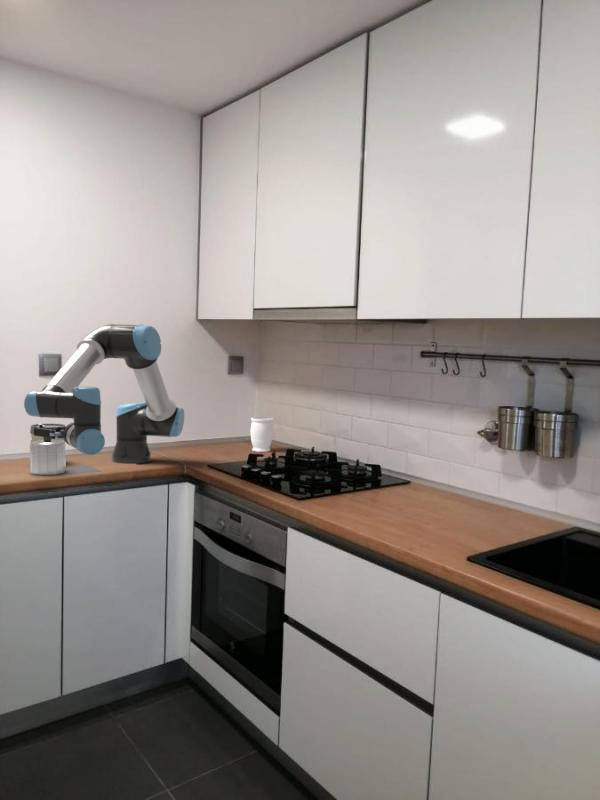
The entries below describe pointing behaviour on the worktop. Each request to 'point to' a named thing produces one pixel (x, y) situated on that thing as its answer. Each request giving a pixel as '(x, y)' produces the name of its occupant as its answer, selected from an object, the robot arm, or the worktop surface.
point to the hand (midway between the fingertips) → (61, 426)
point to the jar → (261, 433)
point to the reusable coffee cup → (36, 438)
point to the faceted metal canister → (47, 457)
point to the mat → (81, 469)
